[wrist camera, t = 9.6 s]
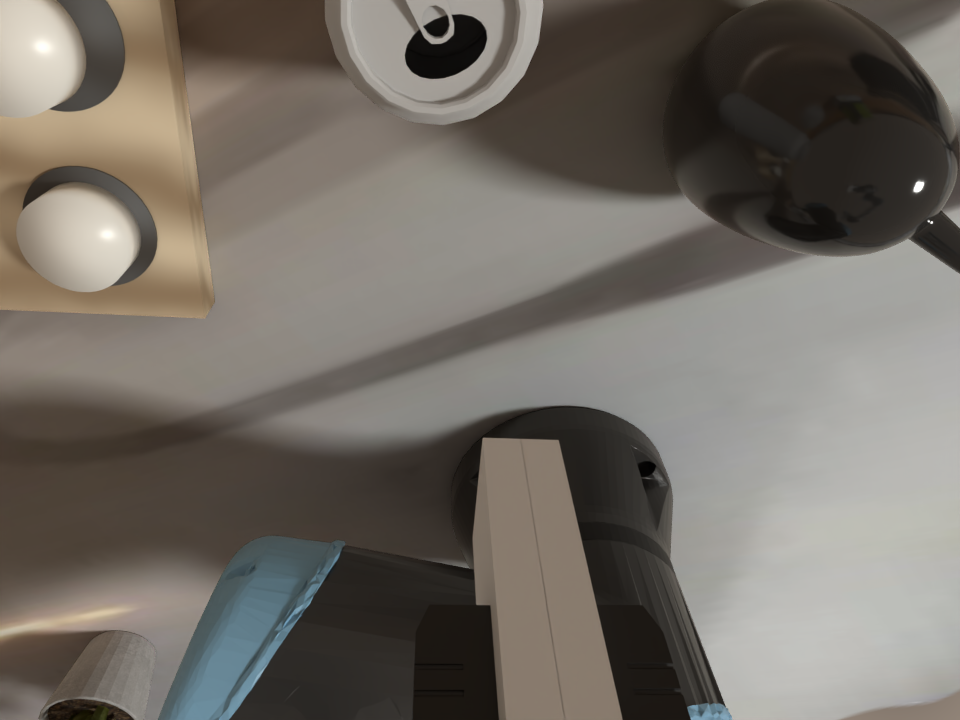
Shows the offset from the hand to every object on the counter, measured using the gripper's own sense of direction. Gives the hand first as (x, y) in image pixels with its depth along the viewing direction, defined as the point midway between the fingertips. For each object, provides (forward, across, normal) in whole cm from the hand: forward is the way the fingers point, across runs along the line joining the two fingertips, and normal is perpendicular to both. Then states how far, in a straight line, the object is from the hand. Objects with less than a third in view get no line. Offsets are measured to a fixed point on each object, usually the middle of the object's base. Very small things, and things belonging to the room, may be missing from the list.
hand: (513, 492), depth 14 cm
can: (+27, +2, -7) cm, 28 cm away
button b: (+22, +19, -4) cm, 29 cm away
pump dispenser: (+27, -14, -3) cm, 30 cm away
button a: (+24, +19, +5) cm, 31 cm away
